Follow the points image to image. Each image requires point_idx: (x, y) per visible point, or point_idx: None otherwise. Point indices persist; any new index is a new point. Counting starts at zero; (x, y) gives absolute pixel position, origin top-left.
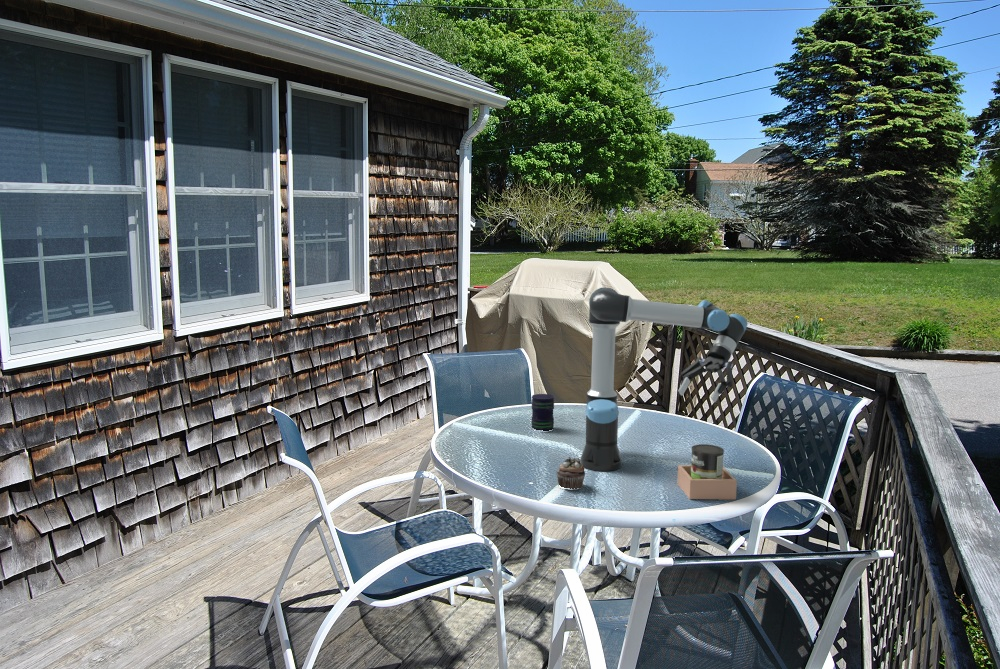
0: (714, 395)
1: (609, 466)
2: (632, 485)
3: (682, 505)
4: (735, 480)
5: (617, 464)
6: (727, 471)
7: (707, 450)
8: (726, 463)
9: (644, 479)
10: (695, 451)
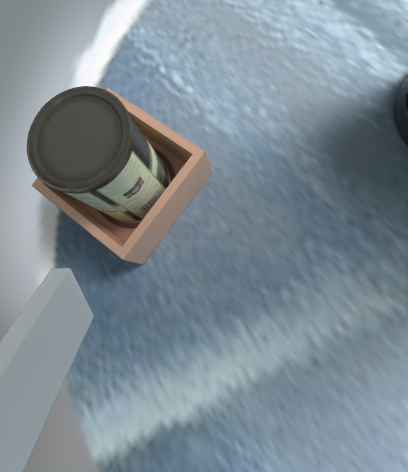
0: (38, 296)
1: (403, 86)
2: (272, 74)
3: (119, 80)
4: (34, 183)
5: (402, 113)
6: (81, 224)
7: (70, 125)
8: (237, 446)
9: (286, 128)
10: (93, 88)
